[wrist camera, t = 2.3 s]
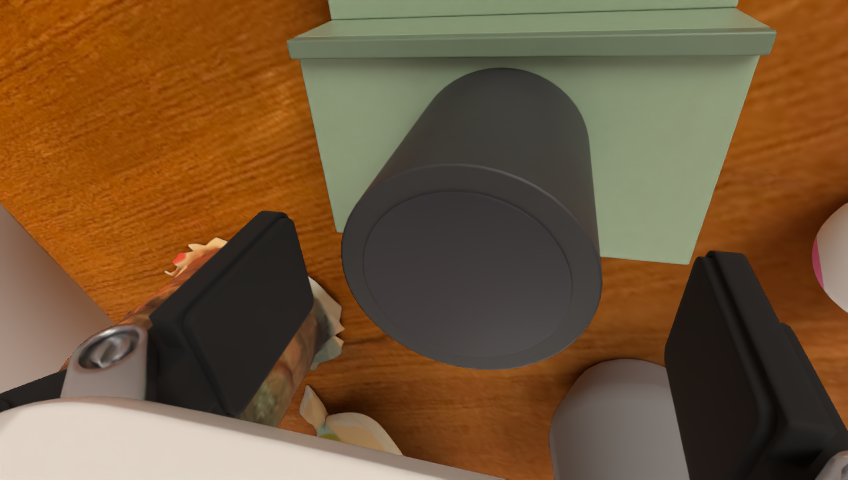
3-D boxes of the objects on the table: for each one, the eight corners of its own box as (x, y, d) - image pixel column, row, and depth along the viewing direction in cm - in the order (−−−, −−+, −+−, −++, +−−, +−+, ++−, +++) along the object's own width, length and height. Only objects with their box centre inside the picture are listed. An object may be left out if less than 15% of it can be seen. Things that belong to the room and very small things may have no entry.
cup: (748, 363, 25) (831, 569, 17) (671, 448, 31) (707, 631, 23) (577, 317, 26) (581, 489, 18) (534, 407, 32) (523, 568, 24)
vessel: (211, 178, 27) (-274, 535, 12) (386, 321, 31) (195, 748, 15) (142, 285, 35) (-196, 578, 20) (286, 388, 39) (95, 709, 23)
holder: (409, 67, 15) (316, 157, 9) (603, 66, 13) (628, 173, 8) (422, 220, 18) (359, 353, 13) (577, 233, 17) (582, 389, 11)
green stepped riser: (328, -176, 16) (227, -215, 11) (780, -243, 13) (909, -338, 8) (377, 175, 24) (330, 240, 19) (663, 192, 21) (692, 276, 16)
